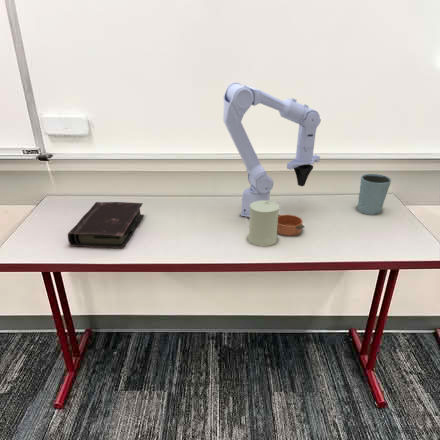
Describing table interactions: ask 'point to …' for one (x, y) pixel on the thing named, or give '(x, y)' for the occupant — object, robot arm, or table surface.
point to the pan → (289, 225)
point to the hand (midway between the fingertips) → (301, 185)
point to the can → (263, 223)
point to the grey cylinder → (372, 193)
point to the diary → (106, 225)
